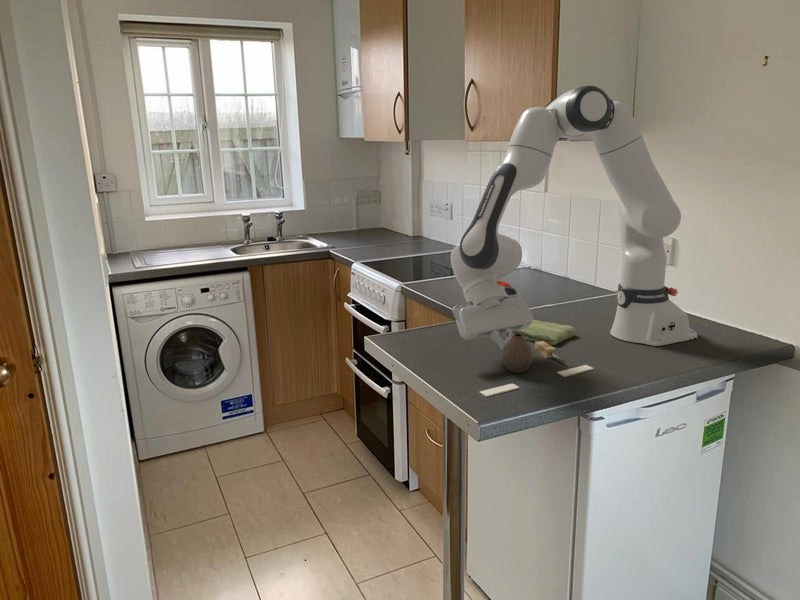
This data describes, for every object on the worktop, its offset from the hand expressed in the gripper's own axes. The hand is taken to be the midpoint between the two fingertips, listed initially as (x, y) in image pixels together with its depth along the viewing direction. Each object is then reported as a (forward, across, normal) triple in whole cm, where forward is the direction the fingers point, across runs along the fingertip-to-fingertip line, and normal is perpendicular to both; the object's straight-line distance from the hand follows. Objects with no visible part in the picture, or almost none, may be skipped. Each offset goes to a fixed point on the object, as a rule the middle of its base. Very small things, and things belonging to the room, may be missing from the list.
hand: (507, 347), depth 147 cm
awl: (+4, +12, +2) cm, 13 cm away
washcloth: (-6, +21, +14) cm, 26 cm away
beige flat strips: (+11, 0, -5) cm, 12 cm away
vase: (+6, 0, 0) cm, 6 cm away
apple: (-21, +22, +28) cm, 42 cm away
